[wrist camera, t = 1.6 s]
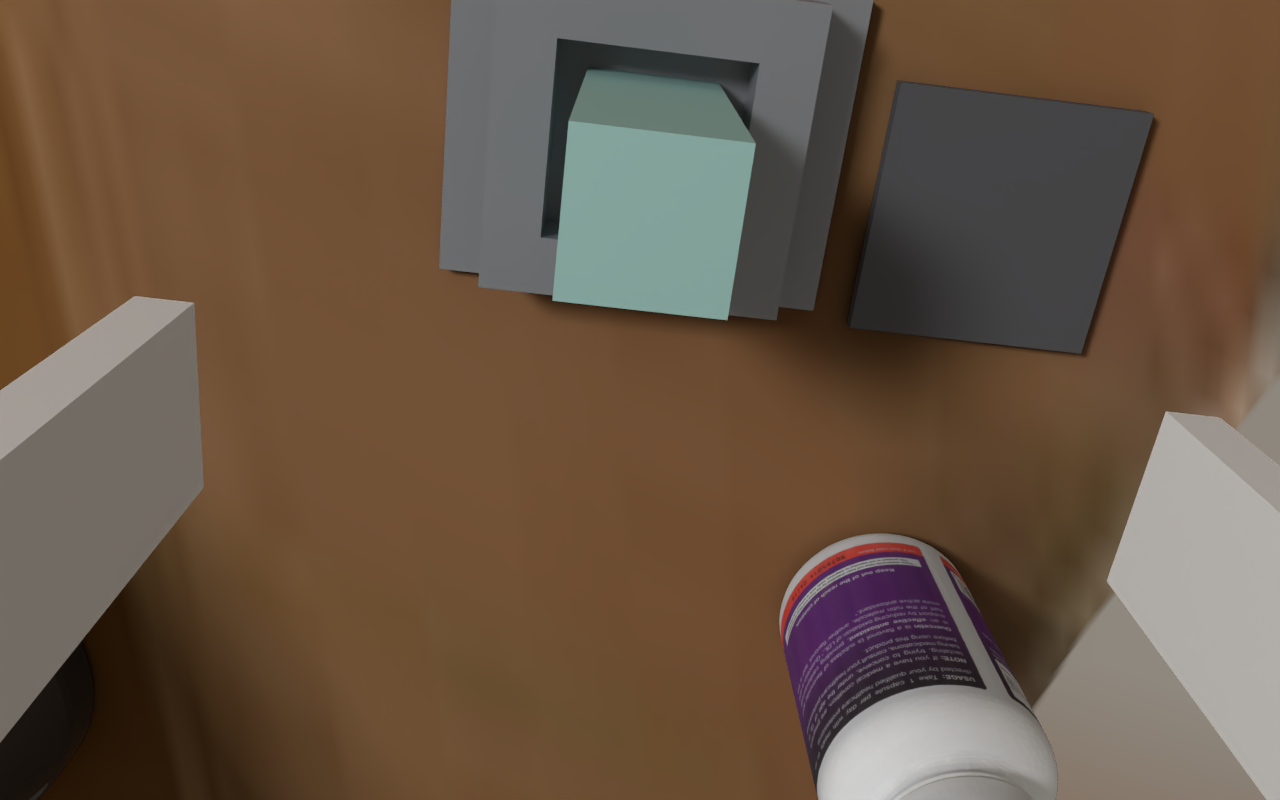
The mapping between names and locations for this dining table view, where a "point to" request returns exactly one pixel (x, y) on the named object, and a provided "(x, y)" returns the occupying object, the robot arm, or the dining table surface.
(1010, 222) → the mat
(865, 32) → the grey socket tray
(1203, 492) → the robot arm
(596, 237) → the plug
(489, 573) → the dining table surface
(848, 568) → the pill bottle
